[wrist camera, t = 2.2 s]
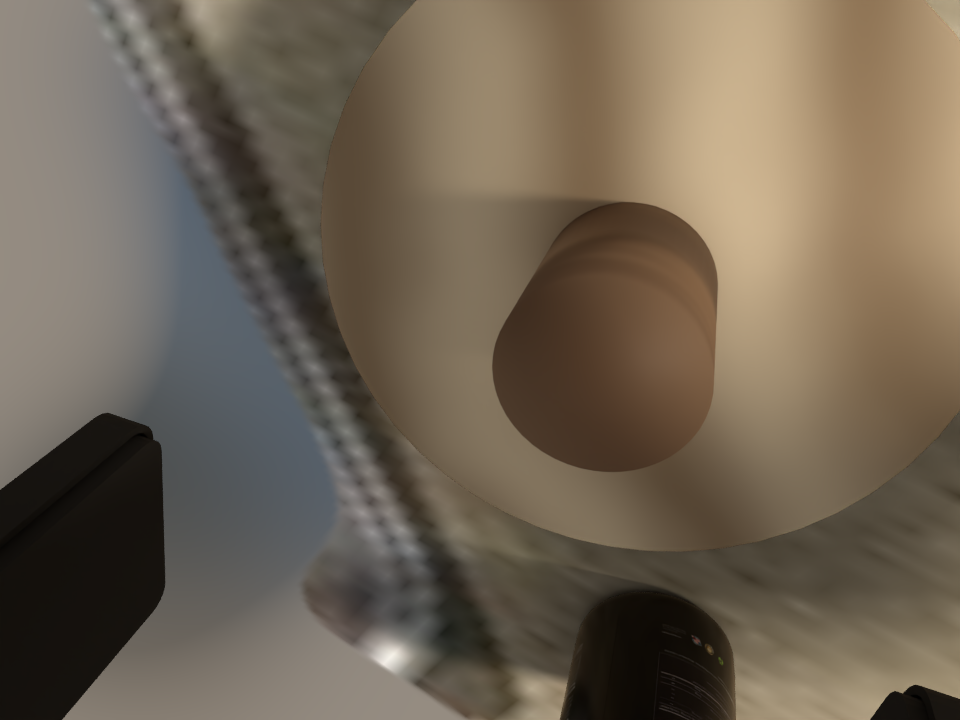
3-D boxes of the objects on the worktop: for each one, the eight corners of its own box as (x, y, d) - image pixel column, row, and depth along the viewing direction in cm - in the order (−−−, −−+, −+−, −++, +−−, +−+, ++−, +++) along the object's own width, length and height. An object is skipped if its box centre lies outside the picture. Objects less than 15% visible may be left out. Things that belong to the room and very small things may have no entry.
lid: (924, -273, 14) (1035, -400, 9) (1055, 472, 20) (1171, 658, 15) (237, 82, 21) (75, 126, 16) (477, 559, 27) (415, 707, 22)
